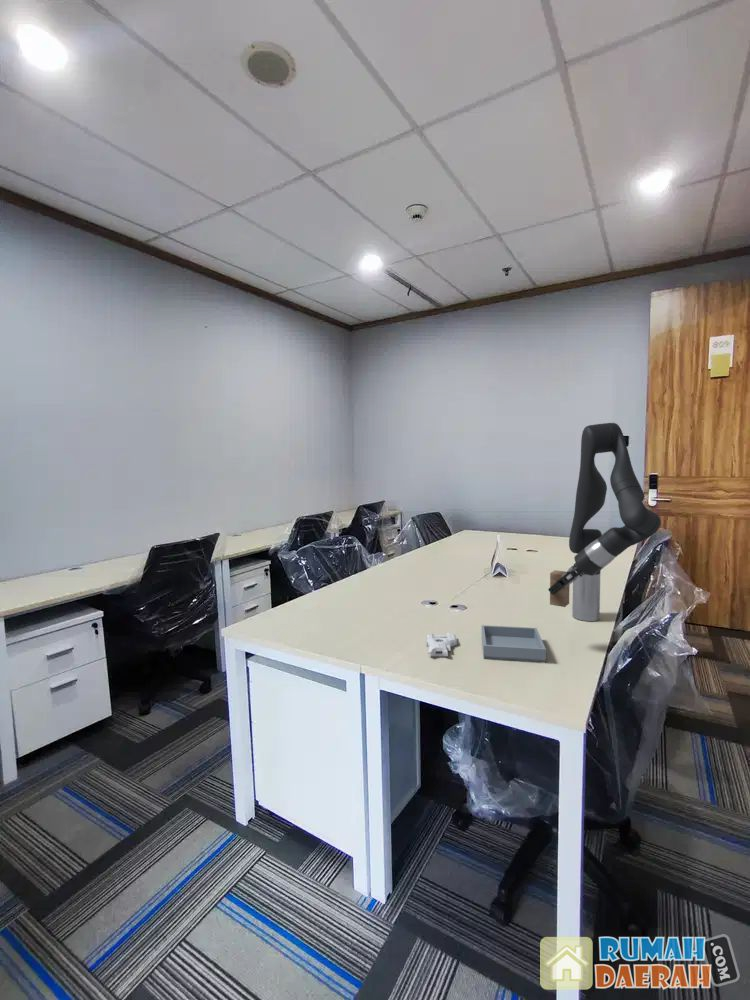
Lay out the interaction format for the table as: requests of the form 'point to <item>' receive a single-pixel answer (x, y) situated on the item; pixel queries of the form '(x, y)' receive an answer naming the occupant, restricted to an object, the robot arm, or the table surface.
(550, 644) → the table surface
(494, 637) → the box
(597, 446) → the robot arm
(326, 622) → the table surface
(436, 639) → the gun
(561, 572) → the handle block
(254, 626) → the table surface
